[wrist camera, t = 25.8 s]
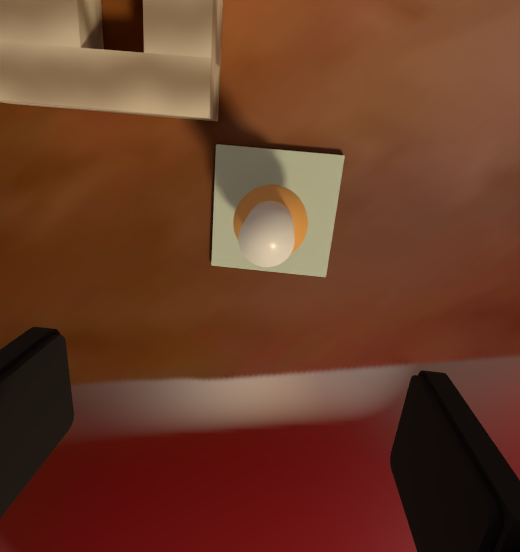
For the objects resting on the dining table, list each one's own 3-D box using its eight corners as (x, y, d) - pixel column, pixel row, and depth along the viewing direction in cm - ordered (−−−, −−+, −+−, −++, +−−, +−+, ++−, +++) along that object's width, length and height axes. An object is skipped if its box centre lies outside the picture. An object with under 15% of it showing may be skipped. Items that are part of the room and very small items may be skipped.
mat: (325, 275, 38) (325, 277, 38) (212, 263, 39) (211, 265, 38) (343, 155, 34) (344, 155, 33) (217, 144, 35) (216, 144, 34)
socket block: (218, 121, 34) (209, 118, 30) (11, 103, 35) (-23, 98, 31) (225, -68, 29) (216, -100, 25) (-15, -83, 30) (-58, -116, 26)
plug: (301, 248, 37) (305, 287, 27) (238, 241, 37) (219, 277, 27) (309, 183, 35) (317, 199, 24) (242, 177, 35) (223, 190, 25)
